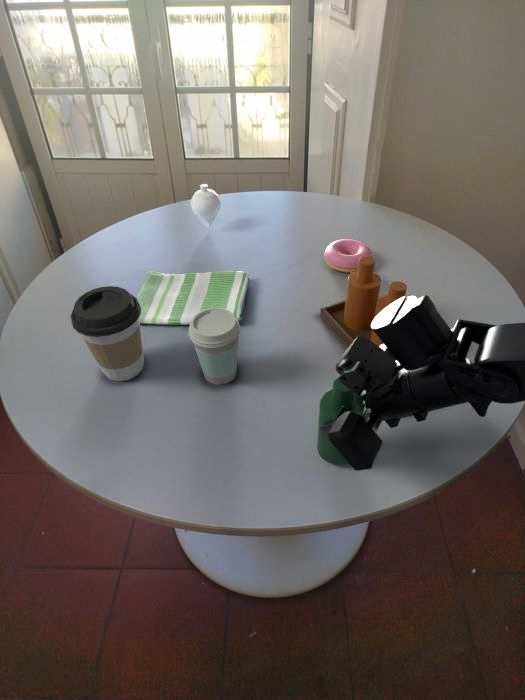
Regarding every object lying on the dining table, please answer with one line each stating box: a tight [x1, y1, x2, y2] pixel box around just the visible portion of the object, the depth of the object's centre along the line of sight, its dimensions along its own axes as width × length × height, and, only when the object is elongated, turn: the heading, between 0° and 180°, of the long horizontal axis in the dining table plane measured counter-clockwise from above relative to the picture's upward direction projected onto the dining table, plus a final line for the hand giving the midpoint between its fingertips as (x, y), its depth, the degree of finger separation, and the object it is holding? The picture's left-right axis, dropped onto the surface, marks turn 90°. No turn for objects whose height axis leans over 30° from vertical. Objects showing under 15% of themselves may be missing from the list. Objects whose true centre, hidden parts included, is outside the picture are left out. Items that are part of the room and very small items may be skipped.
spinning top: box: [190, 183, 222, 230], centre depth 120 cm, size 8×8×12 cm
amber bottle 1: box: [344, 256, 382, 331], centre depth 88 cm, size 6×6×14 cm
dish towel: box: [135, 270, 250, 326], centre depth 100 cm, size 18×23×3 cm
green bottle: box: [316, 376, 365, 466], centre depth 66 cm, size 6×6×14 cm
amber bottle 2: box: [371, 280, 408, 346], centre depth 82 cm, size 6×6×14 cm
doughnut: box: [323, 238, 373, 273], centre depth 109 cm, size 11×11×4 cm
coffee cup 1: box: [70, 285, 145, 382], centre depth 81 cm, size 11×11×15 cm
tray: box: [319, 299, 372, 348], centre depth 87 cm, size 28×11×2 cm, turn 25°
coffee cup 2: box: [188, 308, 241, 386], centre depth 80 cm, size 8×8×12 cm
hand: (331, 413), depth 66 cm, fingers closed on green bottle, 6 cm apart
